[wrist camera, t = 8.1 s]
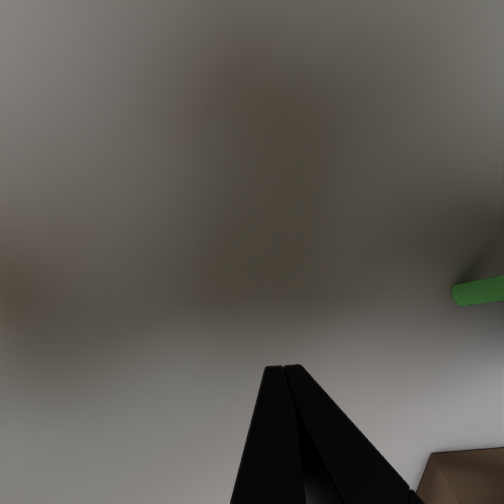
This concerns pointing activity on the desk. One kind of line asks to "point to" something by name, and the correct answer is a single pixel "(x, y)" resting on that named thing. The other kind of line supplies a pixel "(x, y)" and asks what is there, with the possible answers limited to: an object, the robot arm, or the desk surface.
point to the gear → (479, 291)
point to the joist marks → (464, 478)
